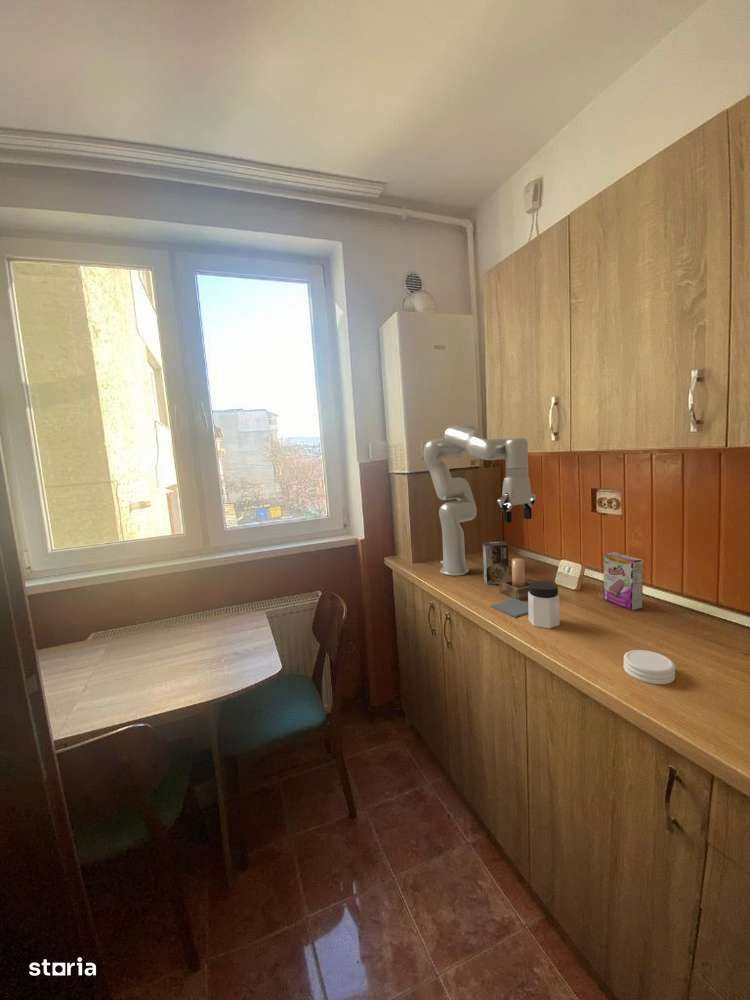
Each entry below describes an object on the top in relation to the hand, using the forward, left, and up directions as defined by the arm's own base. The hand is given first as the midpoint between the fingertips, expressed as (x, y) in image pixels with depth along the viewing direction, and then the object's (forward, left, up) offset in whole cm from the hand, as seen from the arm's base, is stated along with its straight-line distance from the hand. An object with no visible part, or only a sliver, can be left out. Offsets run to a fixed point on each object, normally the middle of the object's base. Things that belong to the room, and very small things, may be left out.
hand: (517, 520), depth 145 cm
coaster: (+54, -14, -28) cm, 62 cm away
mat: (+9, -11, -28) cm, 31 cm away
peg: (0, 0, -28) cm, 28 cm away
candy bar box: (+26, +20, -28) cm, 43 cm away
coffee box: (-15, +3, -28) cm, 32 cm away
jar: (+22, -12, -28) cm, 37 cm away
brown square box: (0, 0, -28) cm, 28 cm away
